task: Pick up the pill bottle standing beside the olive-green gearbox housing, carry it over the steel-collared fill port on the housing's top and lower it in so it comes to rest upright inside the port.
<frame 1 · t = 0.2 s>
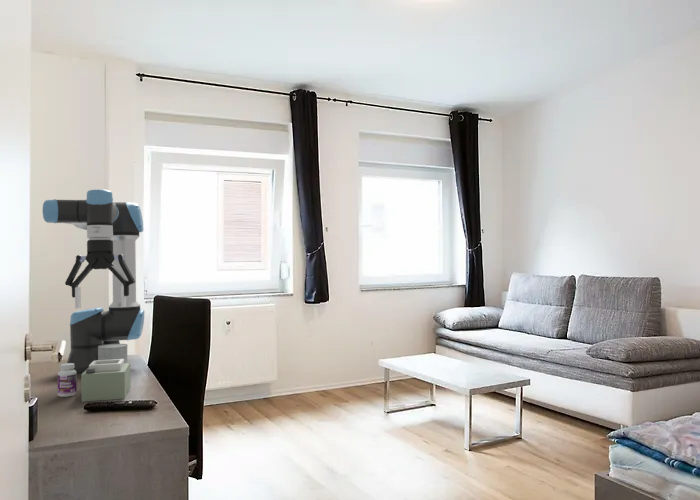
hand: (100, 307, 182), 27 cm above the table, tool pointing down, fingers open, 13 cm apart
speckled grey cylinder: (113, 381, 202), on the table
pump dispenser: (107, 359, 250), on the table
pill bottle: (67, 395, 181), on the table
gearbox: (107, 394, 182), on the table
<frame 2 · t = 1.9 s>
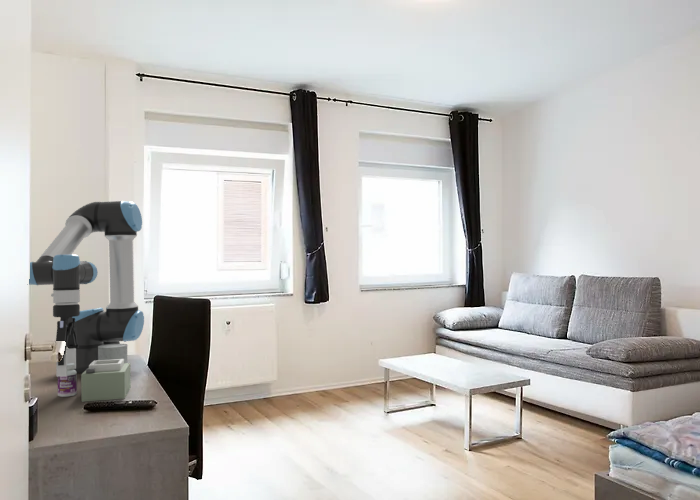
hand: (66, 372, 181), 7 cm above the table, tool pointing down, fingers open, 13 cm apart
nothing on the table moved.
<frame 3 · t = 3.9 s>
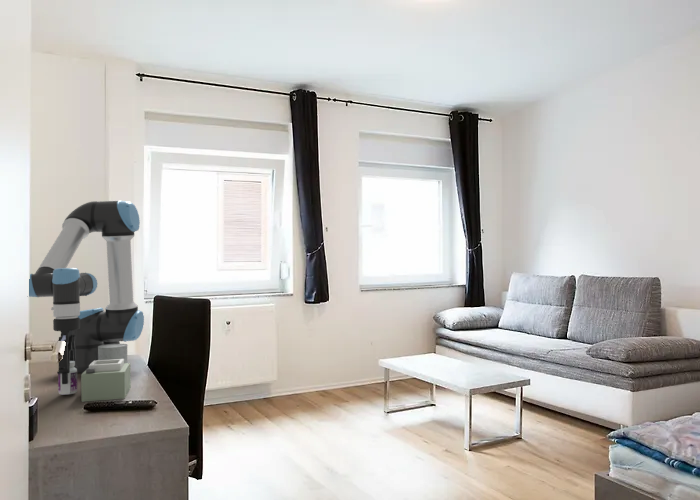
hand: (67, 391, 182), 1 cm above the table, tool pointing down, fingers closed on pill bottle, 5 cm apart
pill bottle: (68, 393, 182), on the table, touching gripper
everything else where it was.
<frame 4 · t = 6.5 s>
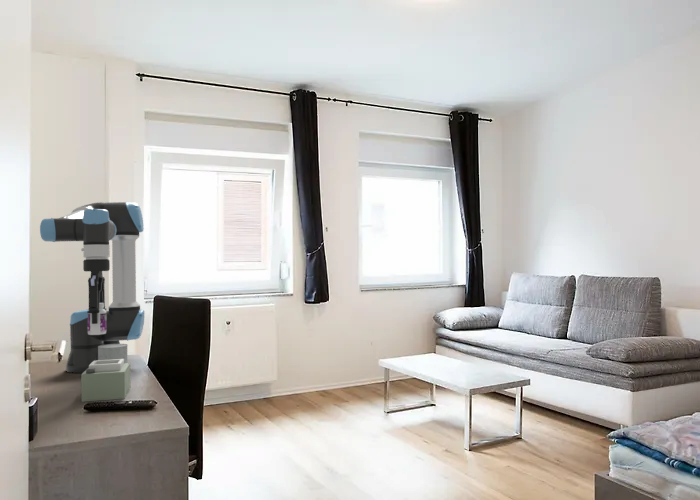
hand: (97, 333, 181), 19 cm above the table, tool pointing down, fingers closed on pill bottle, 5 cm apart
pill bottle: (97, 334, 181), point 19 cm above the table, touching gripper
everything else where it was.
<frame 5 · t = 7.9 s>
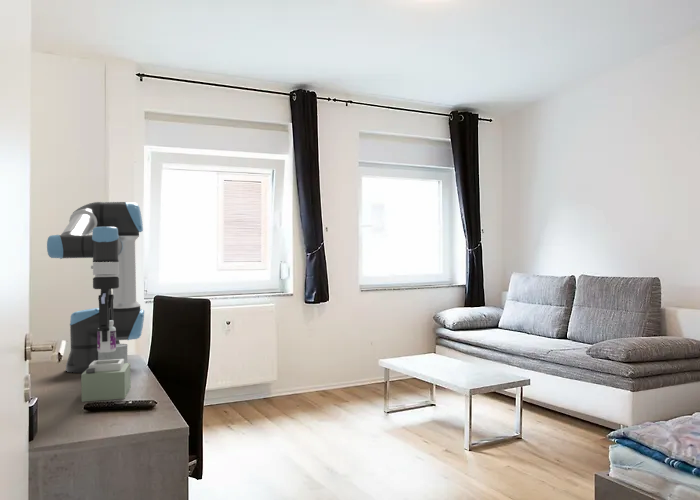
hand: (106, 350, 182), 14 cm above the table, tool pointing down, fingers closed on pill bottle, 5 cm apart
pill bottle: (106, 352, 182), point 13 cm above the table, touching gripper
everything else where it was.
when the fingers open (11 cm above the table, at t = 9.1 s): pill bottle drops 7 cm, resting on gearbox.
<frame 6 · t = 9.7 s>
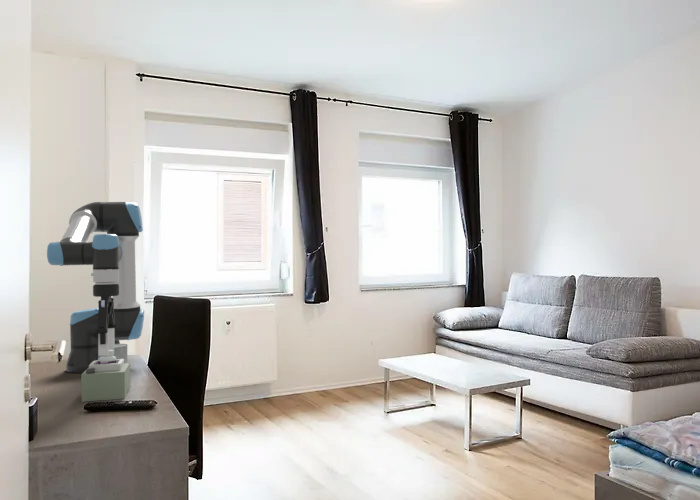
hand: (106, 351, 182), 13 cm above the table, tool pointing down, fingers open, 13 cm apart
pill bottle: (107, 381, 182), point 4 cm above the table, touching gearbox
everything else where it was.
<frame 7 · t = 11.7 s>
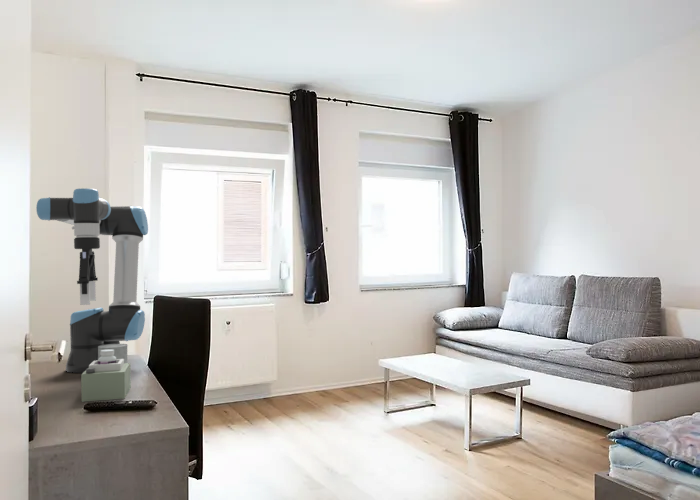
hand: (88, 302, 188), 28 cm above the table, tool pointing down, fingers open, 13 cm apart
nothing on the table moved.
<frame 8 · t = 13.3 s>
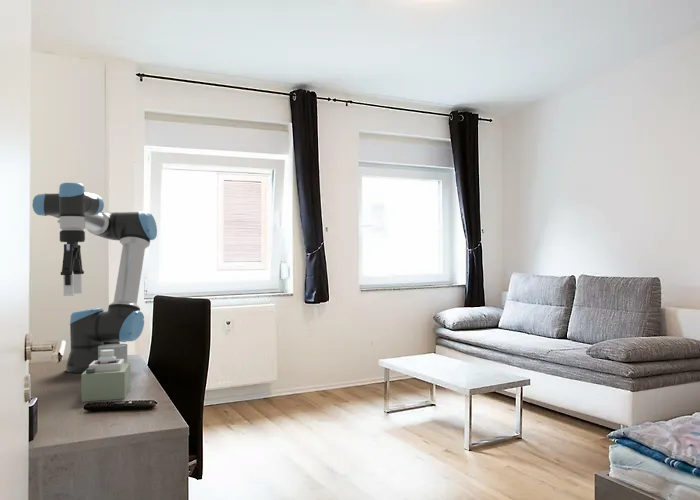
hand: (73, 294, 192), 31 cm above the table, tool pointing down, fingers open, 13 cm apart
nothing on the table moved.
at the end: pill bottle 0.2 cm off-centre on the gearbox, point 3.8 cm above the gearbox's base; pill bottle tilted 0°; the gripper is holding nothing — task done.
